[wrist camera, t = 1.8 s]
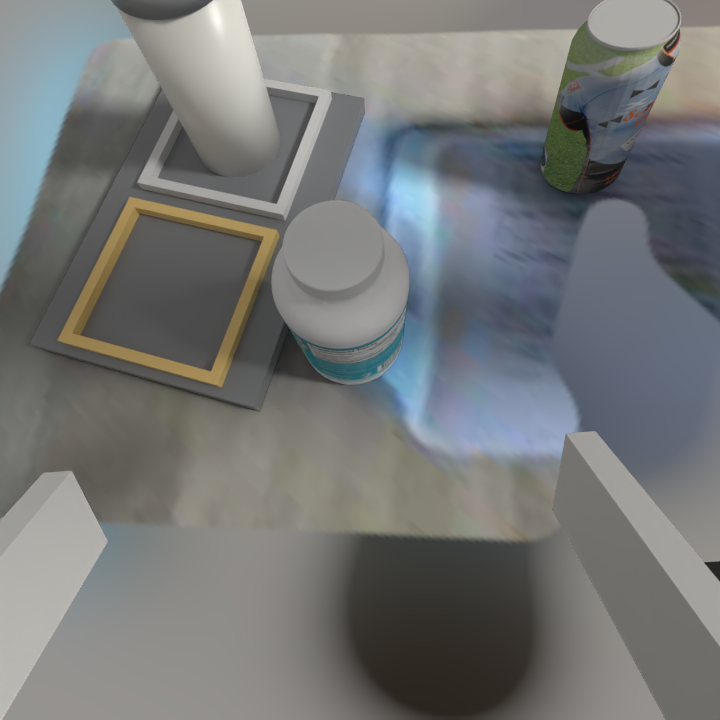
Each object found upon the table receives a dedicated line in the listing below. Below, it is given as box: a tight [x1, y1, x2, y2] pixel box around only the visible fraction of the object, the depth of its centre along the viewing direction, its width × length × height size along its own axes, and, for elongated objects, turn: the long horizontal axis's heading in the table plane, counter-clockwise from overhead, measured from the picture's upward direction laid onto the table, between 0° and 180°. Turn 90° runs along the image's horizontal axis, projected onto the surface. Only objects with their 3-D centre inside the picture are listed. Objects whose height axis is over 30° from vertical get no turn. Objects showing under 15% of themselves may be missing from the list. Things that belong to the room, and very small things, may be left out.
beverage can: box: [540, 0, 681, 194], centre depth 30 cm, size 6×7×12 cm
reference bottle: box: [111, 0, 280, 177], centre depth 30 cm, size 7×7×14 cm
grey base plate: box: [29, 79, 365, 411], centre depth 35 cm, size 18×28×2 cm, turn 164°
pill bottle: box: [271, 200, 410, 385], centre depth 26 cm, size 8×7×14 cm
